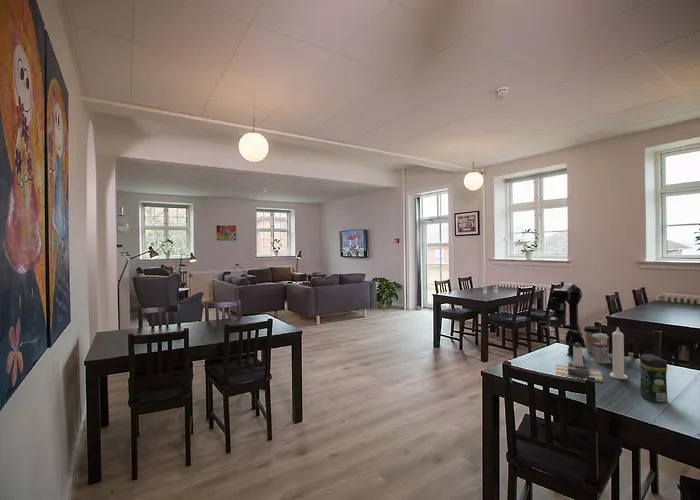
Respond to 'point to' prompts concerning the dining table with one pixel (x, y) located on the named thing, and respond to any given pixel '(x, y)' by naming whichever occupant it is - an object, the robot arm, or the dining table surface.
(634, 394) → the dining table surface
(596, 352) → the french press
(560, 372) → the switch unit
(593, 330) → the coffee cup
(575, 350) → the lever
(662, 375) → the coffee jar
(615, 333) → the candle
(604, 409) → the dining table surface
